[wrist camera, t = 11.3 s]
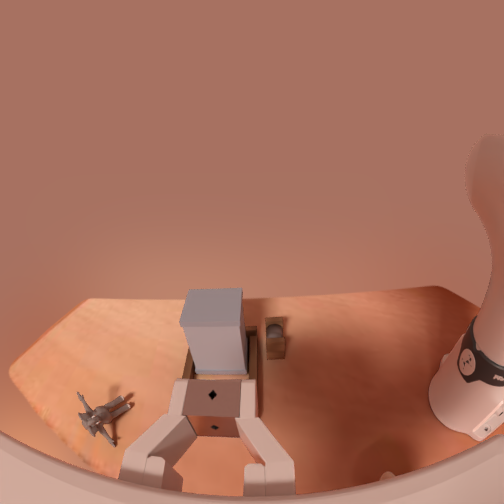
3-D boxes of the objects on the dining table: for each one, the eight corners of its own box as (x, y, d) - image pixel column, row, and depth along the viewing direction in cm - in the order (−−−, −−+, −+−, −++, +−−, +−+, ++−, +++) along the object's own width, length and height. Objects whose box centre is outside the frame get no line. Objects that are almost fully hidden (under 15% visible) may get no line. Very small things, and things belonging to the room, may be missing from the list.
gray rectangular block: (247, 342, 51) (242, 287, 45) (246, 374, 44) (239, 320, 38) (202, 342, 51) (188, 289, 45) (196, 374, 45) (179, 321, 38)
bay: (282, 334, 52) (282, 316, 50) (289, 422, 36) (290, 409, 34) (195, 336, 53) (190, 319, 51) (178, 421, 37) (169, 407, 35)
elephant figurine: (151, 424, 36) (109, 453, 28) (136, 429, 39) (98, 455, 31) (114, 371, 38) (68, 393, 30) (103, 381, 41) (62, 401, 33)
